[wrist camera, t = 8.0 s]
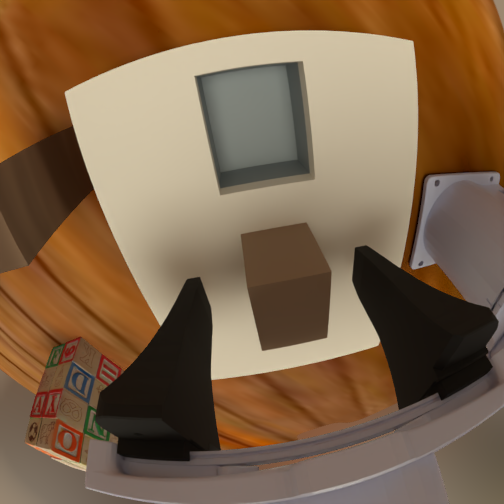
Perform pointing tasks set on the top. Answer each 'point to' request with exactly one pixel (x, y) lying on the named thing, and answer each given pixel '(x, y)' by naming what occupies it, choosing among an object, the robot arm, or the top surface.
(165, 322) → the robot arm
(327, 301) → the lid
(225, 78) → the shallow tray
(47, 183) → the walnut key
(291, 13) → the top surface
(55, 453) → the stack of blocks
